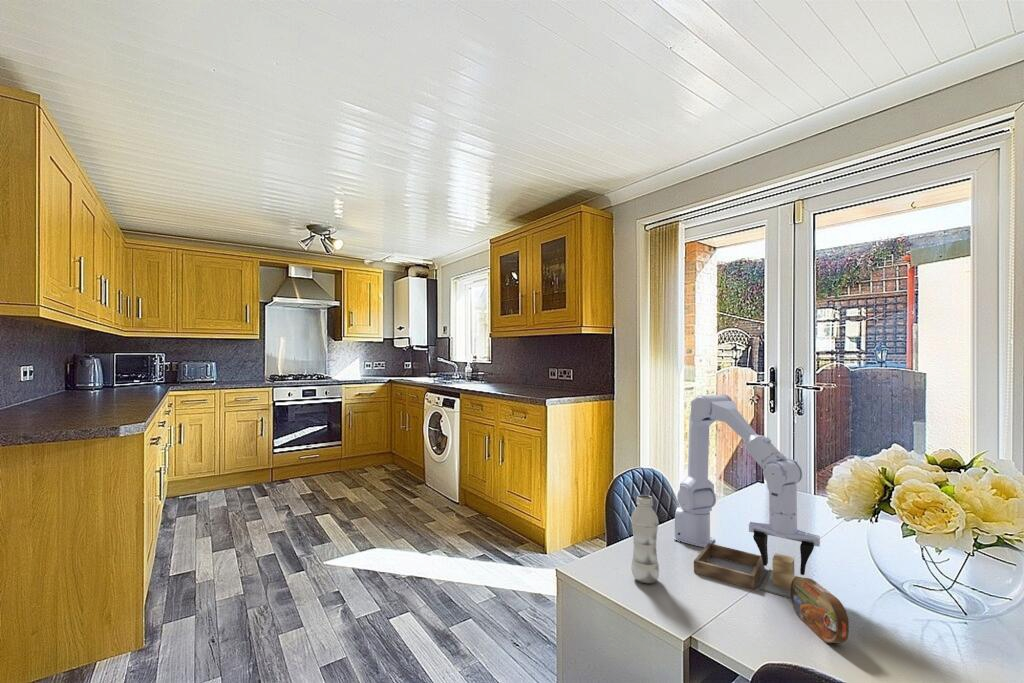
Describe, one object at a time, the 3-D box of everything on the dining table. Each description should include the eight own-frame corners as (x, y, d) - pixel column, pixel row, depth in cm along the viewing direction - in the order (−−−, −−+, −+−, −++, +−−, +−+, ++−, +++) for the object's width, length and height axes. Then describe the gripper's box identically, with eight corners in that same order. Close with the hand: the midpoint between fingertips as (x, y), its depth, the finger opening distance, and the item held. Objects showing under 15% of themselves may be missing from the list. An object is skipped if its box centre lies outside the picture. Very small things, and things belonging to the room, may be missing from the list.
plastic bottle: (645, 589, 108) (644, 503, 108) (625, 577, 114) (625, 495, 114) (665, 583, 111) (664, 499, 111) (645, 571, 117) (644, 491, 117)
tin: (789, 608, 100) (788, 569, 100) (803, 608, 100) (803, 569, 100) (835, 653, 85) (834, 607, 85) (853, 654, 85) (852, 607, 85)
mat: (760, 589, 108) (760, 588, 108) (769, 570, 117) (769, 569, 117) (800, 601, 103) (800, 599, 103) (806, 580, 112) (806, 578, 112)
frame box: (693, 572, 116) (693, 560, 116) (708, 554, 127) (708, 543, 127) (754, 589, 108) (753, 576, 108) (764, 568, 118) (764, 556, 118)
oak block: (772, 584, 109) (772, 558, 109) (775, 578, 112) (775, 553, 113) (792, 589, 107) (792, 563, 107) (794, 583, 110) (794, 557, 110)
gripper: (745, 509, 112) (746, 566, 111) (817, 522, 103) (818, 584, 102) (751, 501, 117) (752, 555, 117) (820, 514, 108) (821, 572, 108)
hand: (783, 568), depth 110 cm, fingers open, 7 cm apart
